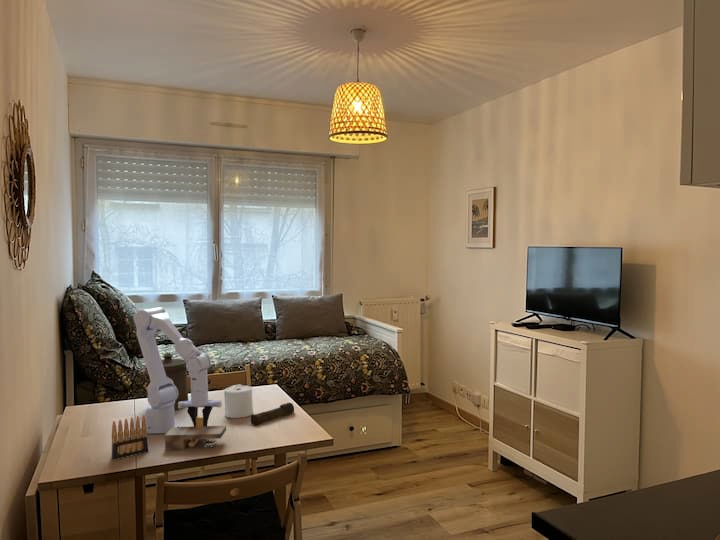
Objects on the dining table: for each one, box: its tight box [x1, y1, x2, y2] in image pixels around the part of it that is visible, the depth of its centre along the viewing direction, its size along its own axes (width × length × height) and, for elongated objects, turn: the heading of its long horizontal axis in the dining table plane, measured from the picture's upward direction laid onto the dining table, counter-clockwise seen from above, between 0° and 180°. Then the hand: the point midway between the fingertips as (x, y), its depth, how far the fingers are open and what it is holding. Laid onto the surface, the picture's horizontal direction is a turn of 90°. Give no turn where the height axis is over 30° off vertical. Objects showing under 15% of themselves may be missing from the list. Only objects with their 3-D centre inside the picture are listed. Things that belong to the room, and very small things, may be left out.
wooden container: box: [149, 352, 189, 411], centre depth 228 cm, size 15×15×22 cm
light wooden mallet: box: [188, 414, 203, 448], centre depth 187 cm, size 3×13×6 cm, turn 1°
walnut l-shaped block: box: [164, 425, 227, 451], centre depth 183 cm, size 18×8×5 cm, turn 91°
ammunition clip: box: [111, 414, 149, 461], centre depth 175 cm, size 11×2×12 cm, turn 125°
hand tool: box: [250, 402, 295, 426], centre depth 209 cm, size 19×4×5 cm, turn 133°
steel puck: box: [203, 439, 217, 448], centre depth 183 cm, size 4×4×2 cm
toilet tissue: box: [223, 383, 254, 419], centre depth 216 cm, size 11×12×10 cm
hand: (200, 427), depth 193 cm, fingers closed on light wooden mallet, 3 cm apart
